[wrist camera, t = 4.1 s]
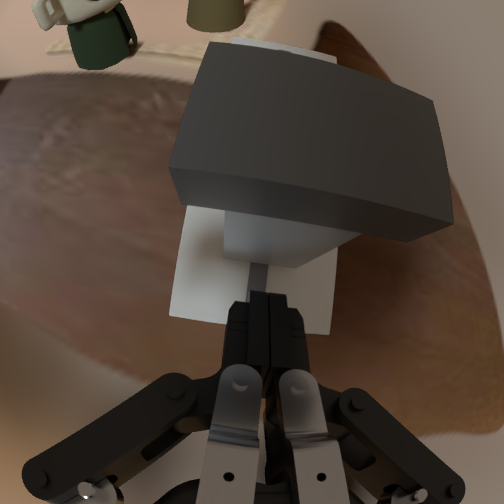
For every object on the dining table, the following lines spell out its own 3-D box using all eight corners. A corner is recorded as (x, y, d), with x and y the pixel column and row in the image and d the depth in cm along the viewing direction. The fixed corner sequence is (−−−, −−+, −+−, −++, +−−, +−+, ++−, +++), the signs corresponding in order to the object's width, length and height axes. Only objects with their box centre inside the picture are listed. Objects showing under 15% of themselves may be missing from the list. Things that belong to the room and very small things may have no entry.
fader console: (318, 332, 18) (329, 335, 16) (174, 314, 17) (168, 315, 15) (329, 71, 22) (336, 56, 20) (230, 52, 21) (232, 35, 19)
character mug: (109, 96, 19) (59, -26, 7) (52, 93, 19) (-5, -2, 6) (163, 24, 22) (152, -78, 9) (108, 23, 21) (84, -64, 9)
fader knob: (312, 276, 16) (453, 223, 5) (204, 260, 16) (167, 167, 5) (317, 214, 17) (432, 100, 6) (214, 198, 16) (209, 41, 6)
